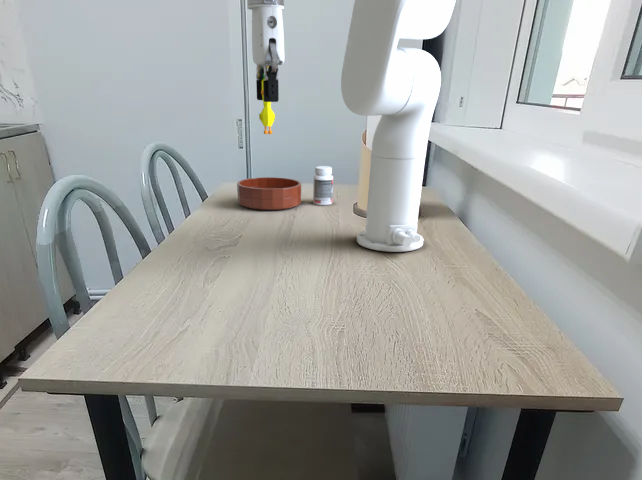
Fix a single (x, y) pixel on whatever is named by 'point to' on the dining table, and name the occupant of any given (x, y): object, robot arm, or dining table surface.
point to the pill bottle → (323, 186)
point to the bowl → (269, 193)
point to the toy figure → (266, 113)
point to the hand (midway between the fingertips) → (267, 100)
